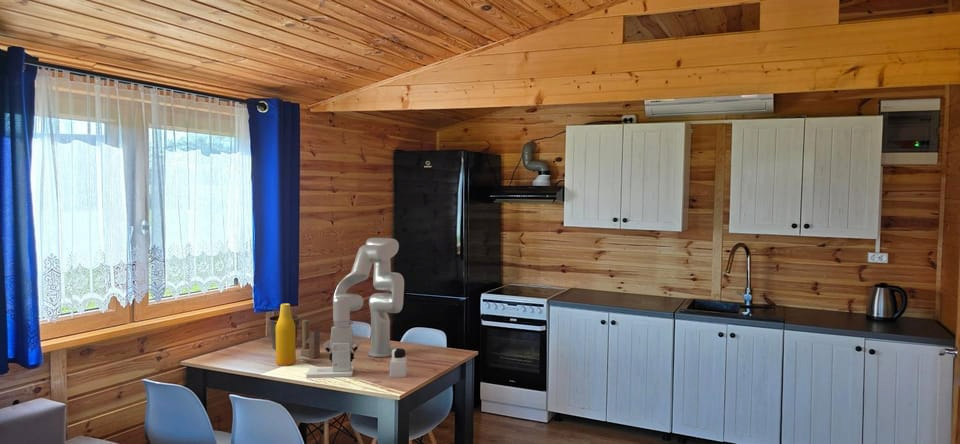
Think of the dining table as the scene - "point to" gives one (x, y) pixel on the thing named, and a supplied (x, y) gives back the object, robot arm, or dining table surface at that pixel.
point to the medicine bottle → (398, 363)
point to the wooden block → (310, 341)
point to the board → (327, 372)
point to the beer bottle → (285, 337)
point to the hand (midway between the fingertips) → (341, 361)
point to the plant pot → (273, 323)
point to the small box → (341, 357)
